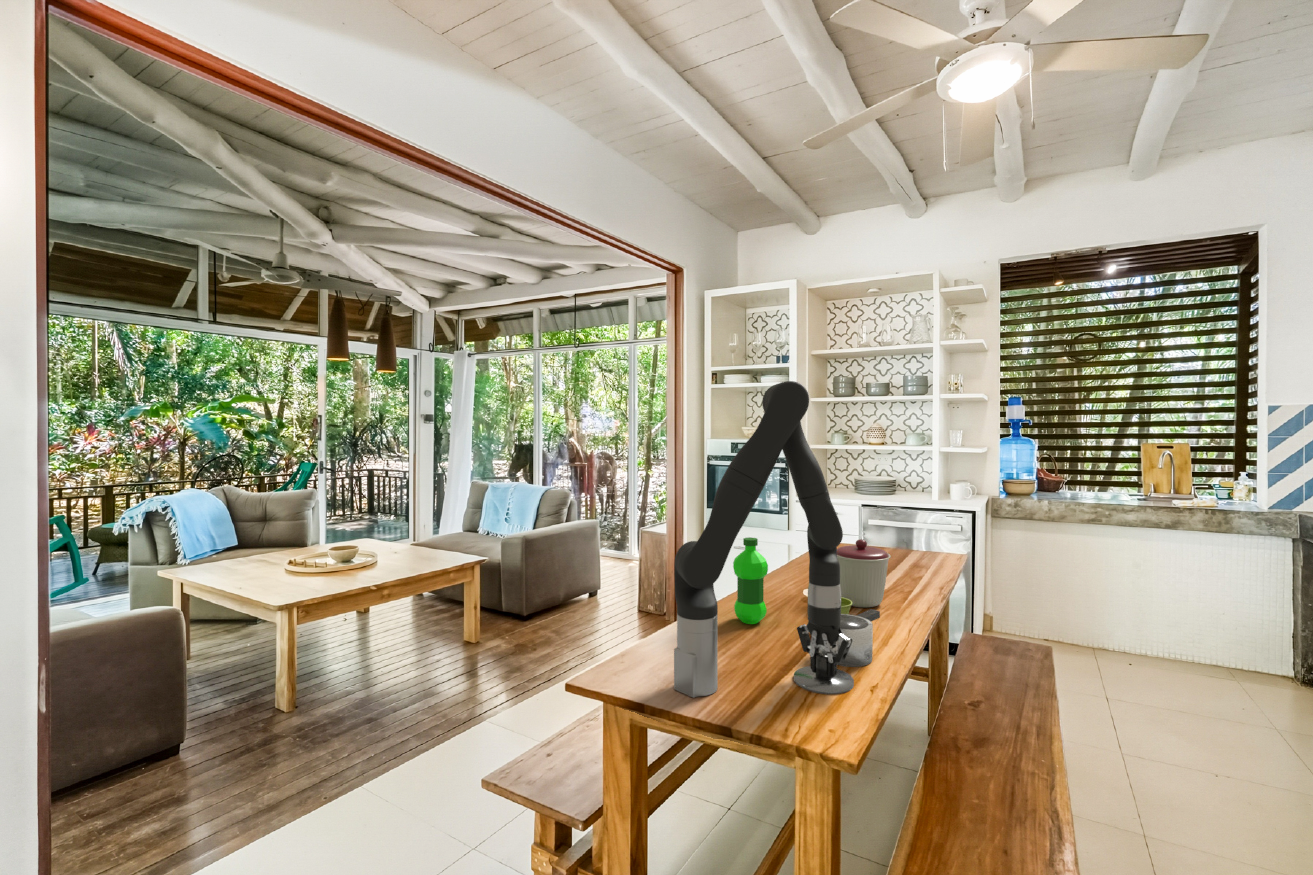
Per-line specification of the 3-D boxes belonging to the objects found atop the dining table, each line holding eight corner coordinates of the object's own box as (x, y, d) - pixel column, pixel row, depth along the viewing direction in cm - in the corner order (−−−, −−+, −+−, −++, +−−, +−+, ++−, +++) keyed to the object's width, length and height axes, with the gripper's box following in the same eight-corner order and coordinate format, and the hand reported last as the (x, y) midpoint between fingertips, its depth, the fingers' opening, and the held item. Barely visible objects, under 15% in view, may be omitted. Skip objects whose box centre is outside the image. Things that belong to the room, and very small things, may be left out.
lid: (833, 701, 138) (834, 672, 137) (782, 682, 148) (782, 654, 147) (864, 682, 147) (865, 655, 147) (814, 665, 157) (814, 640, 157)
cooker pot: (850, 674, 151) (850, 637, 150) (803, 659, 160) (803, 624, 160) (897, 647, 168) (898, 614, 167) (853, 635, 177) (853, 603, 177)
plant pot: (847, 638, 174) (847, 608, 174) (813, 632, 179) (813, 602, 179) (855, 628, 182) (856, 599, 182) (823, 623, 187) (823, 594, 187)
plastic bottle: (773, 620, 190) (774, 538, 189) (755, 629, 182) (755, 543, 181) (745, 613, 197) (745, 534, 195) (726, 622, 188) (726, 539, 187)
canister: (821, 602, 207) (821, 539, 206) (850, 591, 219) (851, 532, 219) (872, 615, 194) (872, 548, 193) (900, 603, 206) (901, 539, 205)
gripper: (789, 598, 149) (788, 669, 150) (843, 612, 139) (842, 688, 139) (807, 592, 154) (806, 661, 155) (860, 605, 144) (859, 678, 145)
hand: (823, 673), depth 147 cm, fingers closed on lid, 3 cm apart
